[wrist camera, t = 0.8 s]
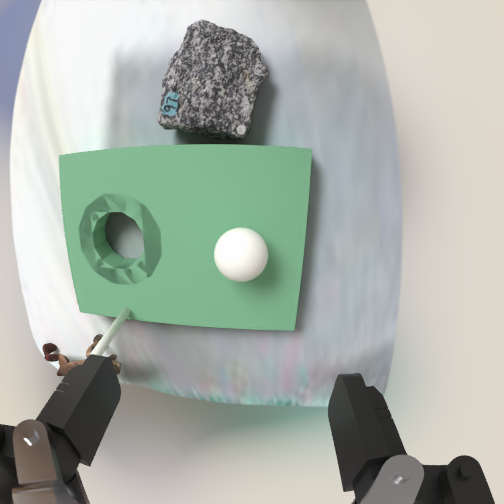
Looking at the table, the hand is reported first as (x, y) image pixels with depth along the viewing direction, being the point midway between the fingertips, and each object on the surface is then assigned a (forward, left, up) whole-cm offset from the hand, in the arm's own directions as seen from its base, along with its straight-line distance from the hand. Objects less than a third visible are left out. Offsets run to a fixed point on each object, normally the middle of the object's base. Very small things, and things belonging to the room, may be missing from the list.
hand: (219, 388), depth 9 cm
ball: (0, 0, -13) cm, 13 cm away
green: (0, -6, -18) cm, 19 cm away
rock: (-13, -3, -18) cm, 23 cm away
